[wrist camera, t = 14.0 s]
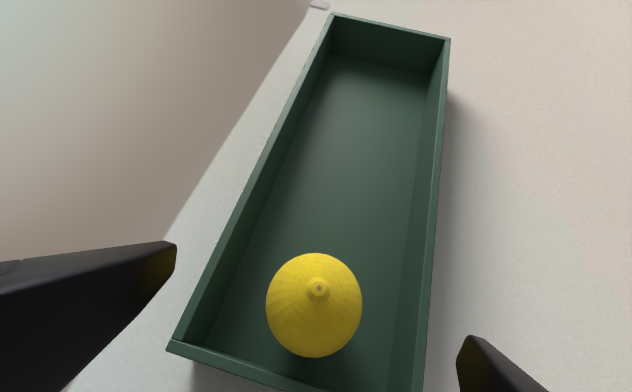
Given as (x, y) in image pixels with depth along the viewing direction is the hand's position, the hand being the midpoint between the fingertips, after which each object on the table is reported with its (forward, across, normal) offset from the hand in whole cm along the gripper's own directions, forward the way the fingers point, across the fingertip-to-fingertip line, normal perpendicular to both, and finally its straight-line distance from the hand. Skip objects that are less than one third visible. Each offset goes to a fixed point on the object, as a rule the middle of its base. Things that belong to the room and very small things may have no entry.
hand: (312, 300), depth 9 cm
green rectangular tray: (+19, 0, -1) cm, 19 cm away
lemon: (+10, 0, +8) cm, 13 cm away
